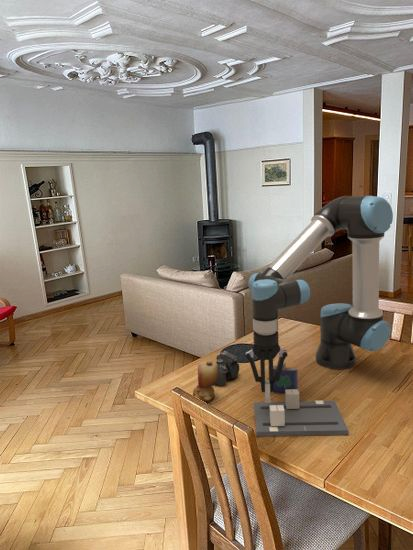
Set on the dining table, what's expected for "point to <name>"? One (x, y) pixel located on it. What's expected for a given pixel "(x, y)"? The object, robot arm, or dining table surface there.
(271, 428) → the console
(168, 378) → the dining table surface
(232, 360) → the camera
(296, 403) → the off-white slider block
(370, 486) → the dining table surface
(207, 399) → the figurine
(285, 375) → the flask
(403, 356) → the dining table surface
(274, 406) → the fader white
